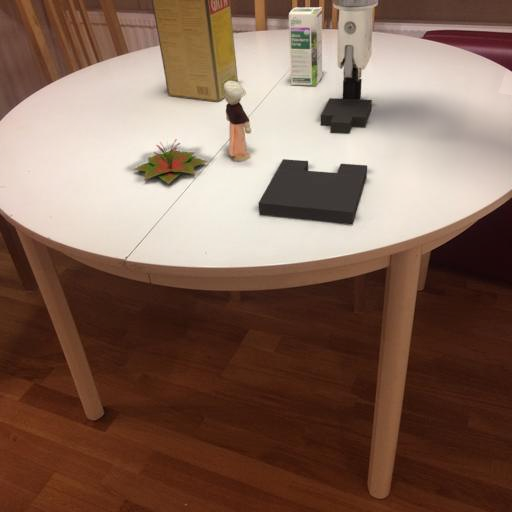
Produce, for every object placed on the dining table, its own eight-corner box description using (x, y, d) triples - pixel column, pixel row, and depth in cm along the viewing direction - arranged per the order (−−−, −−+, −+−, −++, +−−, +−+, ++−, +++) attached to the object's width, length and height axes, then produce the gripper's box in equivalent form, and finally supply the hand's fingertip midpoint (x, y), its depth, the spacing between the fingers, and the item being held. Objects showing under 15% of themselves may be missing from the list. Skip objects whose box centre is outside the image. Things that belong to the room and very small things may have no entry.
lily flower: (119, 174, 86) (113, 149, 83) (173, 146, 93) (169, 122, 90) (168, 195, 80) (162, 168, 77) (222, 163, 86) (219, 137, 84)
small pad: (371, 109, 99) (372, 99, 97) (362, 134, 91) (363, 123, 90) (329, 108, 101) (329, 98, 100) (317, 131, 93) (317, 121, 92)
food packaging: (241, 86, 114) (228, -44, 99) (219, 102, 108) (201, -35, 93) (190, 81, 120) (170, -43, 104) (166, 96, 113) (141, -34, 98)
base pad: (366, 177, 79) (367, 165, 78) (352, 224, 69) (353, 212, 68) (283, 170, 83) (283, 159, 82) (259, 215, 73) (258, 202, 72)
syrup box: (290, 85, 112) (287, 13, 104) (297, 76, 117) (295, 5, 108) (316, 86, 111) (315, 12, 102) (322, 76, 115) (322, 5, 106)
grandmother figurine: (217, 153, 89) (207, 79, 82) (235, 145, 91) (226, 73, 83) (245, 168, 84) (237, 90, 77) (263, 159, 86) (257, 83, 79)
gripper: (371, 6, 82) (365, 117, 94) (383, -15, 93) (376, 87, 105) (324, 7, 85) (324, 115, 96) (341, -14, 96) (339, 85, 107)
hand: (351, 100), depth 100 cm, fingers closed
